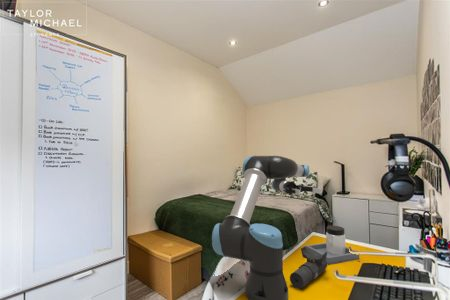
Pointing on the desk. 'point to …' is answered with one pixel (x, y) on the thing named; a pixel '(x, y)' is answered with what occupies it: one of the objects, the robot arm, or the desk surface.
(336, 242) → the jar
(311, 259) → the laser sight
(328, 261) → the tray
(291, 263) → the desk surface
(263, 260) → the robot arm
